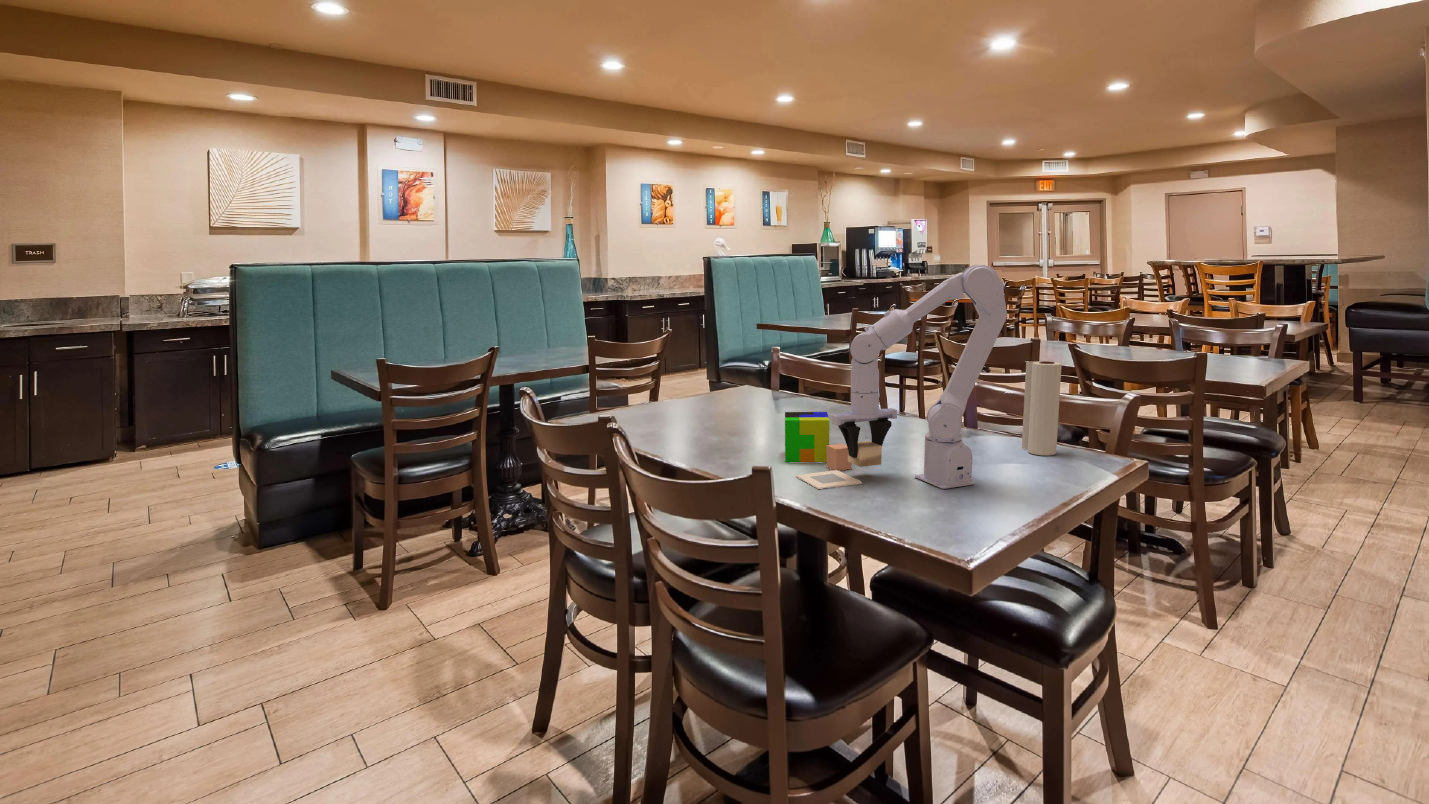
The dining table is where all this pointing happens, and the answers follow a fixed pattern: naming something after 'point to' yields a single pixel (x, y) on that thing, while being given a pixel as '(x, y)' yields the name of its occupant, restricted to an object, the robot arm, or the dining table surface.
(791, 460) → the puzzle toy
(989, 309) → the robot arm
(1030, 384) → the paper towel roll
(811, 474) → the square frame
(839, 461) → the terracotta block
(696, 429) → the dining table surface
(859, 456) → the maple block
